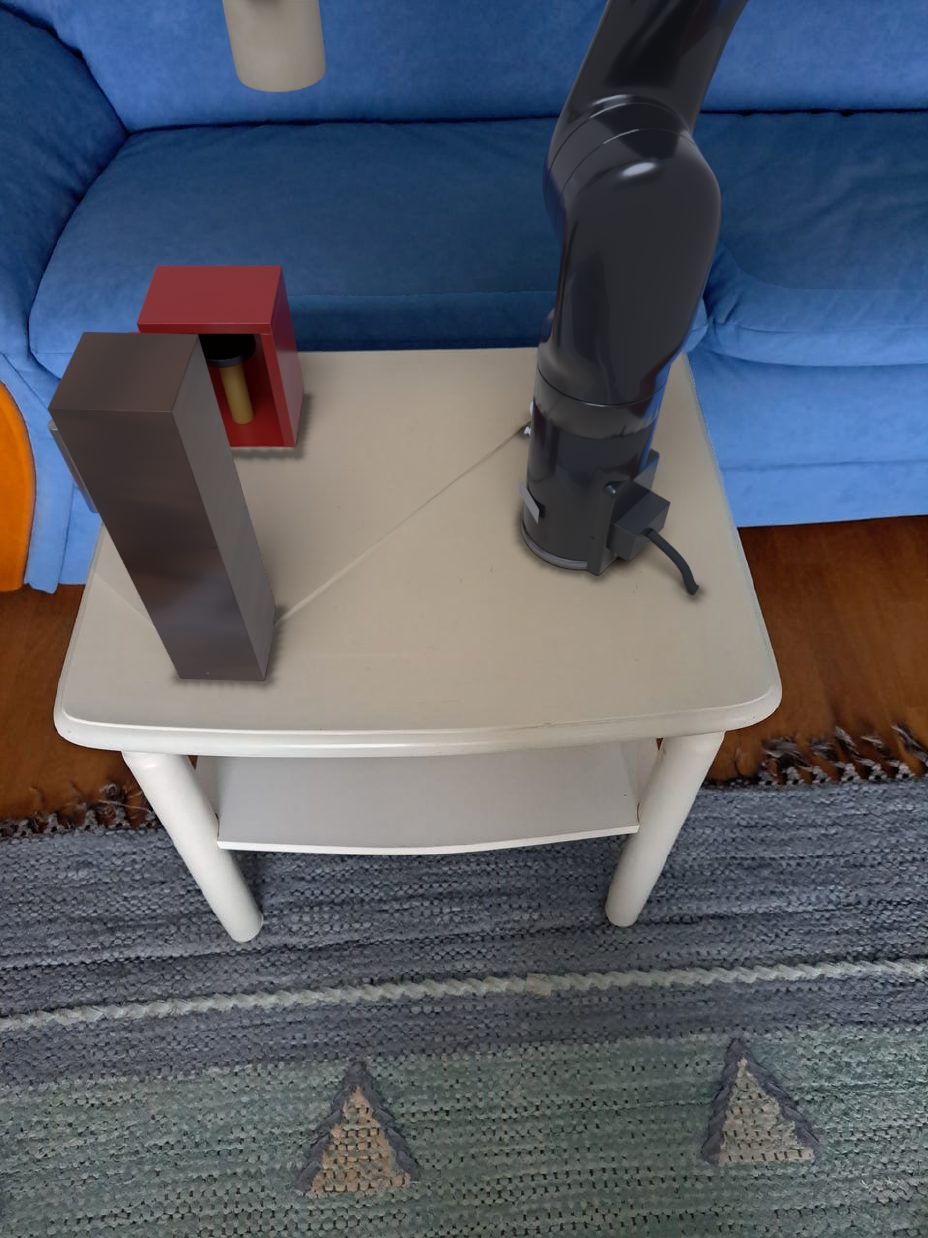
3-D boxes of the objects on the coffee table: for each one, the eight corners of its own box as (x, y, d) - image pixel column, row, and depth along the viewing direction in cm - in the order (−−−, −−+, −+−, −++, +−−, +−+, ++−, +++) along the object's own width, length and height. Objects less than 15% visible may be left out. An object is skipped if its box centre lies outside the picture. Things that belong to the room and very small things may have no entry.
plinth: (277, 612, 69) (198, 333, 48) (264, 681, 65) (171, 411, 44) (197, 610, 69) (83, 330, 48) (179, 678, 65) (46, 408, 44)
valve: (283, 415, 81) (267, 339, 74) (239, 444, 79) (218, 368, 72) (247, 391, 83) (228, 314, 76) (203, 418, 81) (180, 342, 74)
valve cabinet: (297, 454, 79) (270, 323, 68) (182, 455, 79) (135, 323, 68) (305, 397, 84) (281, 264, 73) (196, 397, 84) (156, 264, 73)
